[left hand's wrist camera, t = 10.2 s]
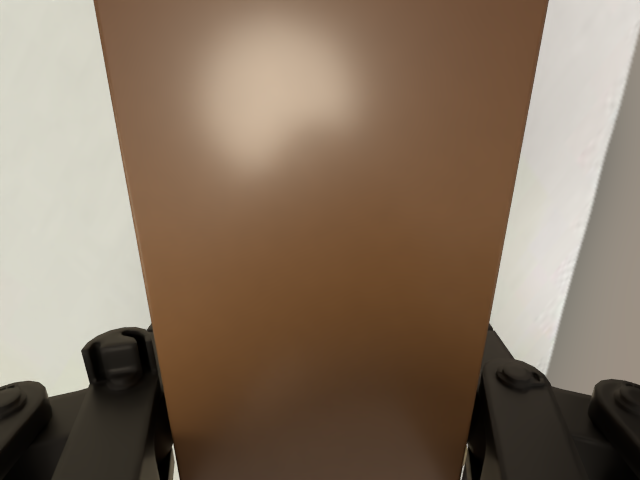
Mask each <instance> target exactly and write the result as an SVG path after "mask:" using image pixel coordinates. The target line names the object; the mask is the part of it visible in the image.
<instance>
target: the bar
mask: <svg viewBox="0 0 640 480" xmlns="http://www.w3.org/2000/svg"><path fill="white" fill-rule="evenodd" d="M548 1H549V0H94V6H95V11H96V17H97V22H98V28H99V34H100V39H101V45H102V50H103V56H104V61H105V67H106V72H107V78H108V84H109V89H110V95H111V100H112V106H113V111H114V117H115V122H116V128H117V133H118V139H119V145H120V150H121V156H122V161H123V167H124V172H125V178H126V183H127V189H128V194H129V200H130V206H131V211H132V217H133V222H134V228H135V233H136V239H137V244H138V250H139V256H140V261H141V267H142V272H143V278H144V283H145V289H146V294H147V300H148V305H149V311H150V317H151V322H152V328H153V333H154V339H155V344H156V350H157V355H158V361H159V366H160V372H161V378H162V383H163V389H164V394H165V400H166V405H167V411H168V416H169V422H170V428H171V433H172V439H173V444H174V450H175V455H176V461H177V466H178V472H179V477H180V480H460V477H461V472H462V467H463V461H464V456H465V450H466V445H467V440H468V434H469V429H470V423H471V418H472V412H473V407H474V402H475V396H476V391H477V385H478V380H479V375H480V369H481V364H482V358H483V353H484V348H485V342H486V337H487V331H488V326H489V321H490V315H491V310H492V304H493V299H494V293H495V288H496V283H497V277H498V272H499V266H500V261H501V256H502V250H503V245H504V239H505V234H506V229H507V223H508V218H509V212H510V207H511V202H512V196H513V191H514V185H515V180H516V174H517V169H518V164H519V158H520V153H521V147H522V142H523V137H524V131H525V126H526V120H527V115H528V110H529V104H530V99H531V93H532V88H533V83H534V77H535V72H536V66H537V61H538V56H539V50H540V45H541V39H542V34H543V28H544V23H545V18H546V12H547V7H548Z"/></svg>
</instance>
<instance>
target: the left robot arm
mask: <svg viewBox="0 0 640 480" xmlns="http://www.w3.org/2000/svg"><path fill="white" fill-rule="evenodd" d="M81 352H82V356H83V360H84V363H85V367H86V371H87V374H88V378H89V382H90V385H89V387H88V388H87V389H83V390H80V391H75V392H71V393H66V394H62V395H57V396H52V397H48V394H47V391H46V388H45V387H44V386H43V385H42V384H41V383H39V382H33V381H23V382H15V383H12V384H8V385H5V386H2V387H0V480H173V473H174V463H175V462H174V455H173V450H172V445H173V439H172V433H171V428H170V422H169V416H168V411H167V405H166V400H165V394H164V389H163V383H162V378H161V372H160V366H159V361H158V355H157V350H156V344H155V339H154V333H153V328H152V323H151V325H150V326H149V328H148V329H147V330H145V329H142V328H137V327H124V328H119V329H115V330H110V331H108V332H106V333H103V334H101V335H98V336H97V337H95V338H94V339H92V340H91V341H89V342H88V343H87V344H86V345H85V346H84V348H83V349H82V350H81ZM467 443H468V450H467V455H466V461H465V466H464V471H463V477H462V480H640V385H638V384H634V383H632V382H627V381H623V380H615V379H609V380H602V381H600V382H599V383H597V384H596V385H595V387H594V390H593V393H592V396H590V395H586V394H581V393H577V392H572V391H568V390H563V389H559V388H555V387H552V386H551V384H550V382H549V381H548V379H547V378H546V377H545V375H544V374H543V373H541V372H540V371H539V370H538V369H536V368H535V367H533V366H531V365H529V364H527V363H525V362H523V361H519V360H515V359H514V358H513V356H512V355H511V353H510V352H509V351H508V349H507V348H506V346H505V345H504V343H503V342H502V341H501V339H500V338H499V336H498V335H497V333H496V332H495V331H493V328H492V326H491V325H490V324H489V326H488V331H487V337H486V342H485V348H484V353H483V358H482V364H481V369H480V375H479V380H478V385H477V391H476V396H475V402H474V407H473V412H472V418H471V423H470V429H469V434H468V440H467Z"/></svg>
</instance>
